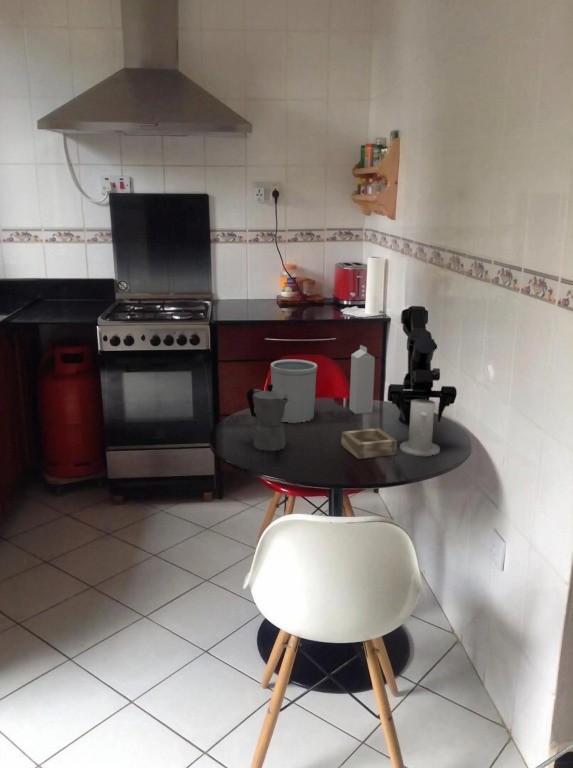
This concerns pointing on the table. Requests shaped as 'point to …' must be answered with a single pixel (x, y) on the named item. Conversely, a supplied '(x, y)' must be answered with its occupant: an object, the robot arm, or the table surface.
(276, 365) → the utensil holder
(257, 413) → the coffeepot
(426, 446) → the jug
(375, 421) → the table surface
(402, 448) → the mat
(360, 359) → the milk
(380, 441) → the stand
